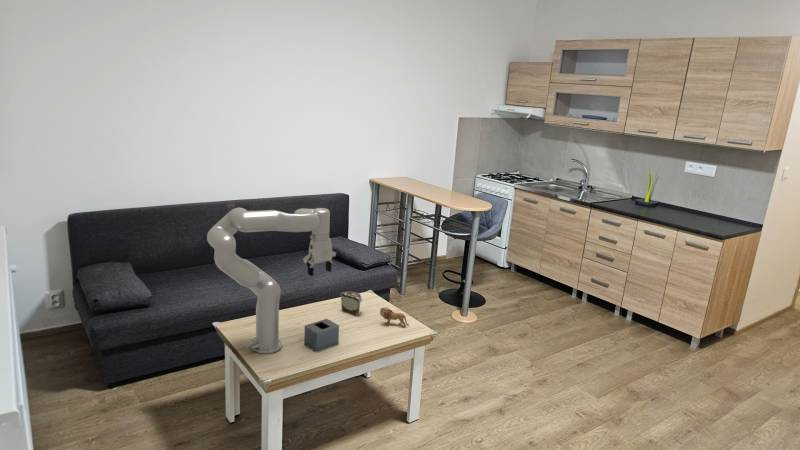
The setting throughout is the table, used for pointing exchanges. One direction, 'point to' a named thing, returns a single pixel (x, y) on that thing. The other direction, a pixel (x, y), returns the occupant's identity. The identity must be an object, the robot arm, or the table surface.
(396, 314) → the lion figurine
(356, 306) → the food container
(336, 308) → the table surface
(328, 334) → the box
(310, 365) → the table surface
